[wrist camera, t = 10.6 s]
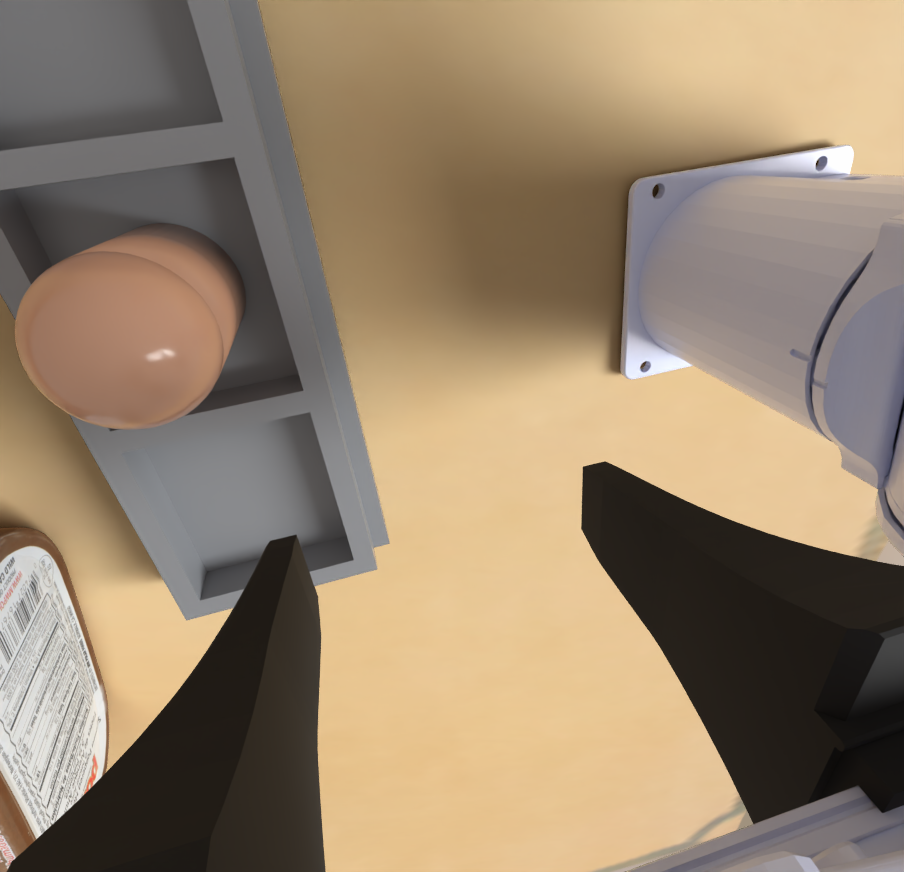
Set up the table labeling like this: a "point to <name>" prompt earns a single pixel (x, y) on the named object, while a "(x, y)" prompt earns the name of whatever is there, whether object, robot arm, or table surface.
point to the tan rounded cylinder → (132, 326)
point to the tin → (44, 693)
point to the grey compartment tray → (230, 226)
